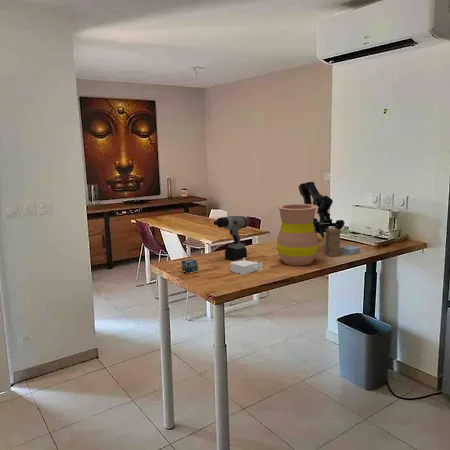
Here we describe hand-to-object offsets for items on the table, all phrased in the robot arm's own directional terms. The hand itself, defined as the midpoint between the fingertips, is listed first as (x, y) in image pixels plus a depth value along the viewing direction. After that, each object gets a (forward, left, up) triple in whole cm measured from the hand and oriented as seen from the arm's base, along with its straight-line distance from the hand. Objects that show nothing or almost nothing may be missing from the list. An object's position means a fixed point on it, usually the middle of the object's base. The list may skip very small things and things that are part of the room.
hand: (331, 237), depth 240 cm
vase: (+1, -24, -10) cm, 26 cm away
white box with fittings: (0, -54, -11) cm, 55 cm away
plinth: (+2, +12, -10) cm, 16 cm away
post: (+1, 0, -10) cm, 10 cm away
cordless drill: (-23, -52, -10) cm, 58 cm away
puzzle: (-13, -81, -10) cm, 83 cm away
